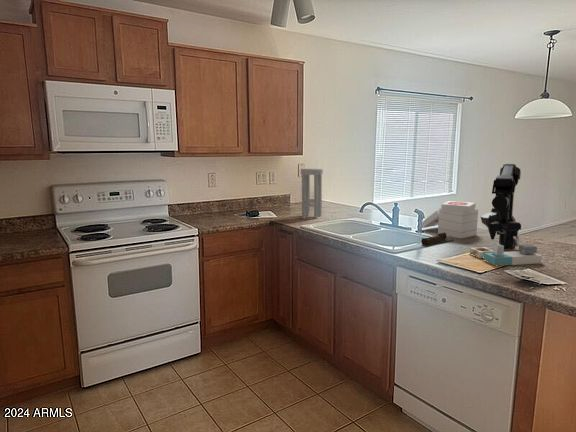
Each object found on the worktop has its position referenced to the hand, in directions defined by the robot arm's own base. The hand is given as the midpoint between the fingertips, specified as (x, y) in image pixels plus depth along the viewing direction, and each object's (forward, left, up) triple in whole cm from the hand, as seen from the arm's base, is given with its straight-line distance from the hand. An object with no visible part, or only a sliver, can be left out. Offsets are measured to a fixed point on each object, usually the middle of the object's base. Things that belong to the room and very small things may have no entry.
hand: (498, 241), depth 176 cm
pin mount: (-11, 0, -10) cm, 15 cm away
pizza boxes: (-60, +10, -10) cm, 61 cm away
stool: (-126, -59, -10) cm, 140 cm away
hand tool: (-39, -9, -10) cm, 41 cm away
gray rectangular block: (0, +14, -10) cm, 17 cm away
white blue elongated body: (-38, +35, -10) cm, 52 cm away
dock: (0, +8, -10) cm, 12 cm away
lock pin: (0, 0, -10) cm, 10 cm away
